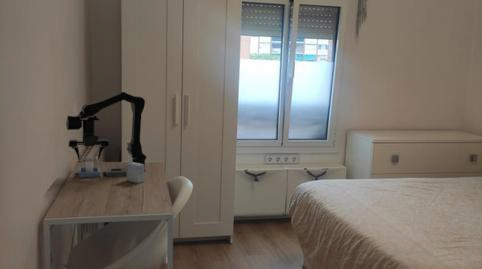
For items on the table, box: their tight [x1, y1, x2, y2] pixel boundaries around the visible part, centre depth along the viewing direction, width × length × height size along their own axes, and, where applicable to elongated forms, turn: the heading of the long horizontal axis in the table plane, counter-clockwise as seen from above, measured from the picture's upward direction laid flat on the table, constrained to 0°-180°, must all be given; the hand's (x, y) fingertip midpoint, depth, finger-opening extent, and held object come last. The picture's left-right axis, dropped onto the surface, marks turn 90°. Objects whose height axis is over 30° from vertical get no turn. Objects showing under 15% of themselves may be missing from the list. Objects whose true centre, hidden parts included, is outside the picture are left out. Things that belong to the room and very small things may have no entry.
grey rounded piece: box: [84, 157, 94, 172], centre depth 222 cm, size 4×4×8 cm
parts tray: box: [78, 166, 101, 179], centre depth 223 cm, size 10×12×2 cm
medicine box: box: [126, 161, 145, 184], centre depth 214 cm, size 8×4×9 cm, turn 58°
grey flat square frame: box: [104, 167, 127, 177], centre depth 227 cm, size 10×10×2 cm
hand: (88, 159), depth 222 cm, fingers open, 9 cm apart
